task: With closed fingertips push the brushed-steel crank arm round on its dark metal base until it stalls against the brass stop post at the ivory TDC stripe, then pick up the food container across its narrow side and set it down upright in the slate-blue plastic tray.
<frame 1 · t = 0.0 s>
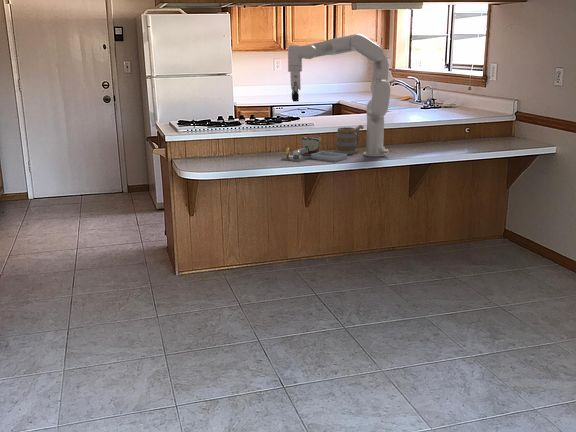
hand: (295, 100, 334), 31 cm above the countertop, tool pointing down, fingers open, 9 cm apart
crank lever: (301, 151, 337), point 4 cm above the countertop, hinge at -90.0°
tray: (328, 158, 334), on the countertop
tankard: (350, 152, 355), on the countertop
crank base: (296, 159, 334), on the countertop
food container: (312, 154, 349), on the countertop
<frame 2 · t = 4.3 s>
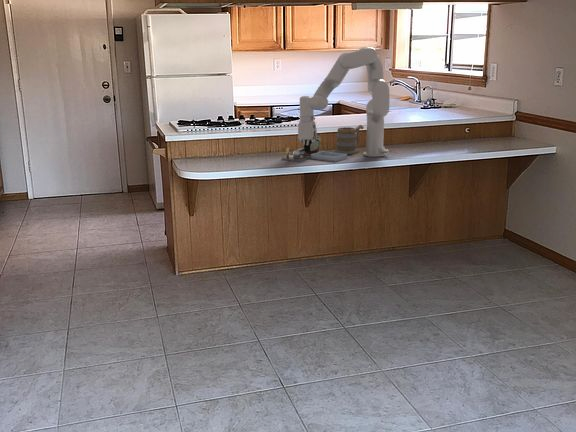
hand: (307, 151, 338), 3 cm above the countertop, tool pointing down, fingers closed
crank lever: (300, 151, 337), point 4 cm above the countertop, hinge at -84.3°, touching gripper
everything else where it was.
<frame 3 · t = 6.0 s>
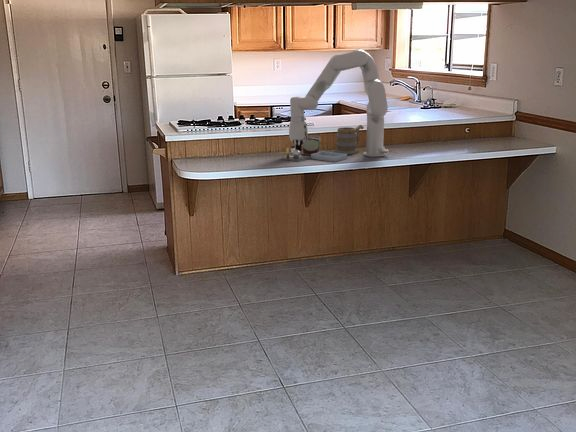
hand: (298, 151, 342), 3 cm above the countertop, tool pointing down, fingers closed
crank lever: (294, 151, 337), point 4 cm above the countertop, hinge at -38.3°, touching gripper
everything else where it was.
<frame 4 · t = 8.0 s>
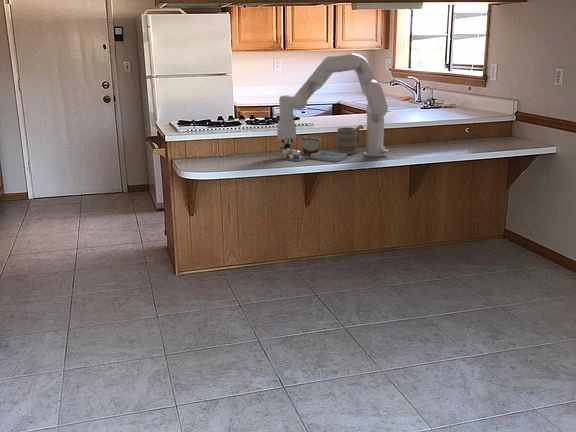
hand: (287, 150, 340), 3 cm above the countertop, tool pointing down, fingers closed
crank lever: (290, 151, 336), point 4 cm above the countertop, hinge at 5.9°
everything else where it was.
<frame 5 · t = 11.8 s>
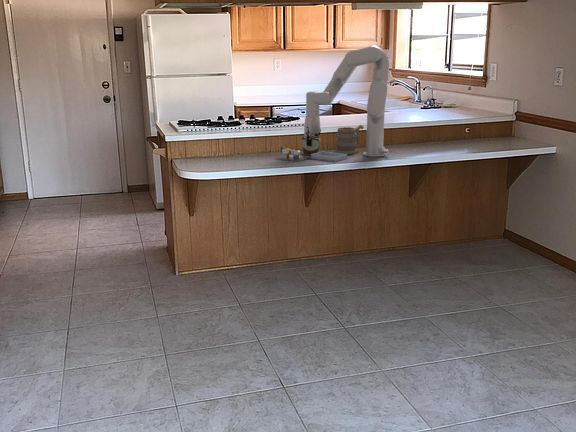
hand: (312, 144, 348), 5 cm above the countertop, tool pointing down, fingers closed on food container, 6 cm apart
food container: (312, 154, 349), on the countertop, touching gripper
everything else where it was.
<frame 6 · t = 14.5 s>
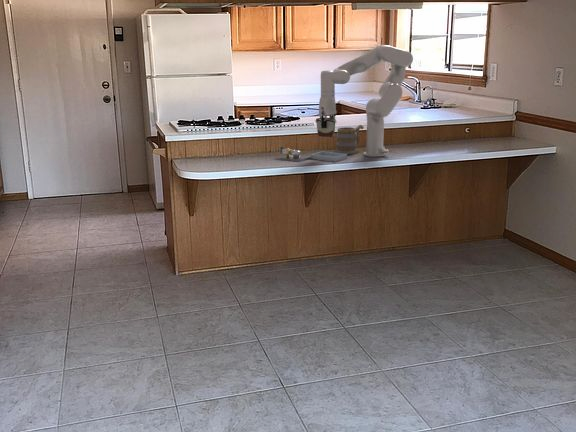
hand: (327, 127, 331), 17 cm above the countertop, tool pointing down, fingers closed on food container, 6 cm apart
food container: (328, 136, 333), point 12 cm above the countertop, touching gripper
everything else where it was.
when the fingers open (7 cm above the countertop, at t = 17.2 s): food container drops 1 cm, resting on tray.
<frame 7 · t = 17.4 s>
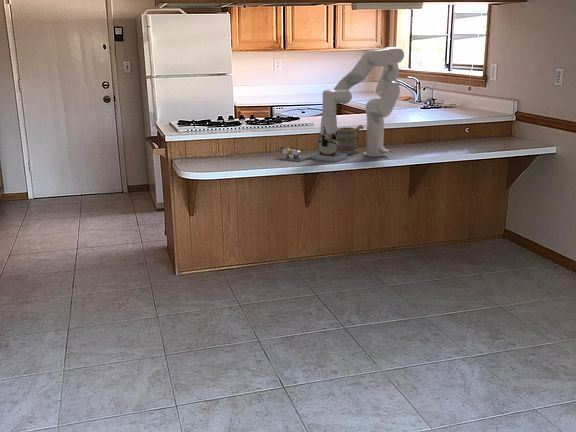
hand: (329, 145, 332), 7 cm above the countertop, tool pointing down, fingers open, 8 cm apart
food container: (329, 157, 335), resting on tray
everything else where it was.
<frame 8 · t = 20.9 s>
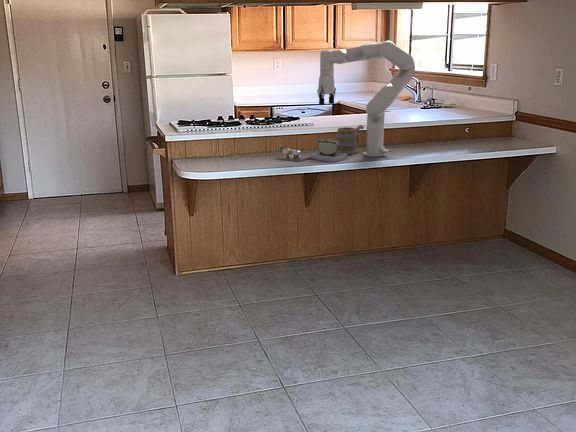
hand: (326, 104, 342), 28 cm above the countertop, tool pointing down, fingers open, 9 cm apart
nothing on the countertop moved.
at the end: crank lever at +6° (first picture: -90°); food container 0.5 cm from the tray (horizontally); food container tilted 0° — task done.
